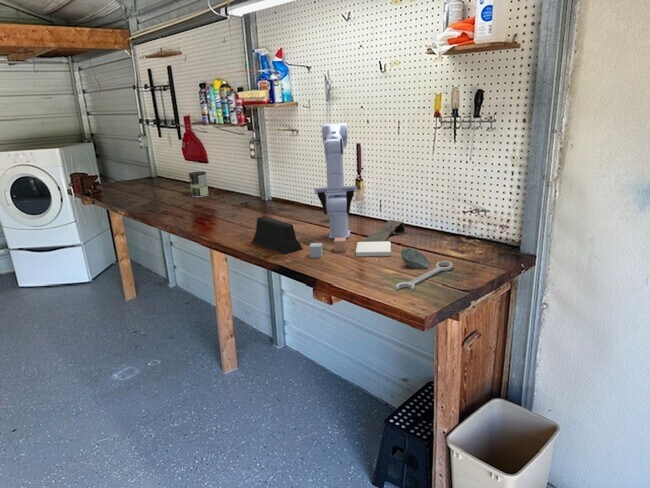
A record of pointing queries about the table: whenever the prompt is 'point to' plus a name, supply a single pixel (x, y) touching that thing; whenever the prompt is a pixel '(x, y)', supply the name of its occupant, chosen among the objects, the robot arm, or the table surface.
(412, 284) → the wrench
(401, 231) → the axe head
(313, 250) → the grey blue block
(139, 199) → the table surface
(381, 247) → the base board
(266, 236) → the barrier
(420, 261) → the stone
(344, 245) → the terracotta block
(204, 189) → the coffee can
